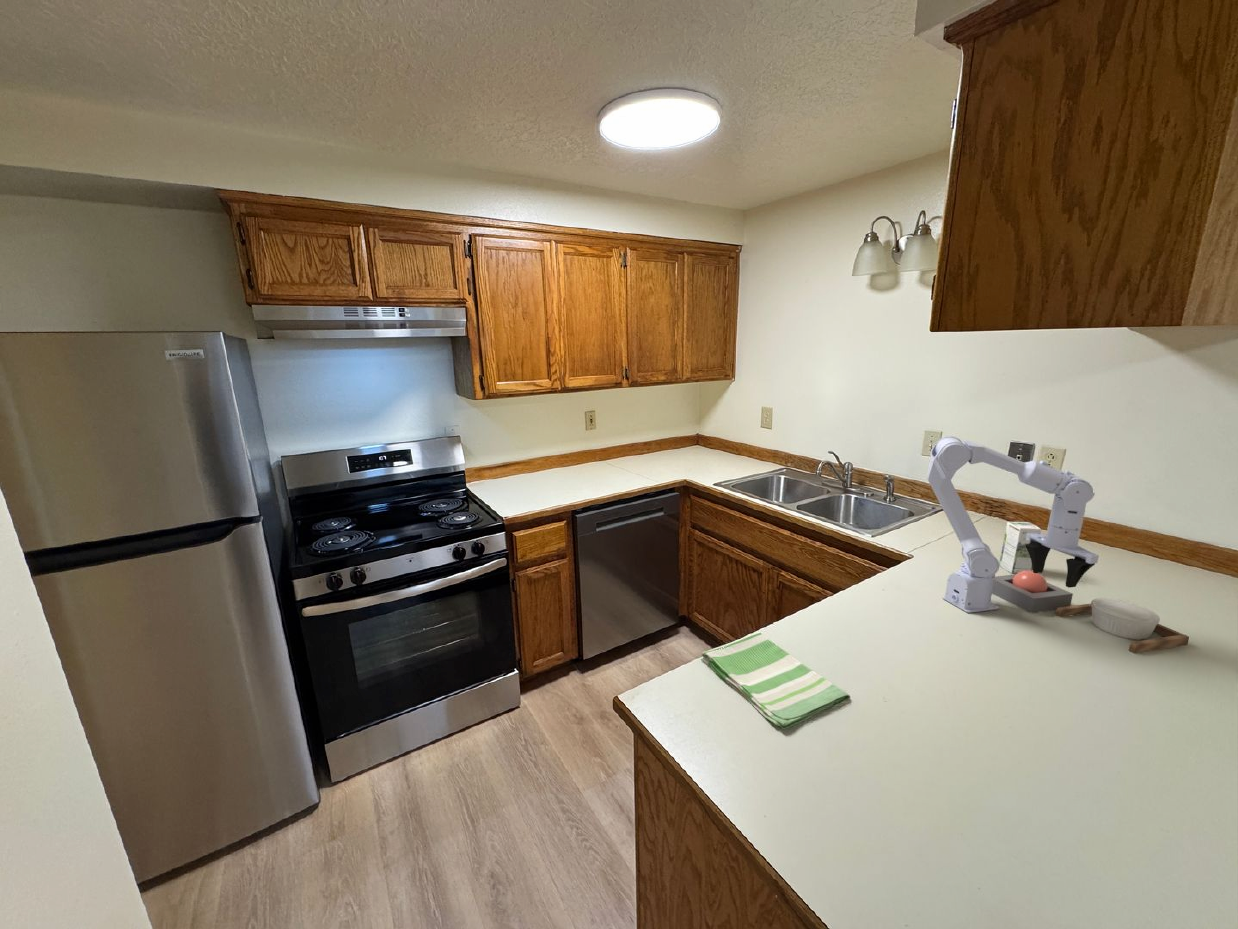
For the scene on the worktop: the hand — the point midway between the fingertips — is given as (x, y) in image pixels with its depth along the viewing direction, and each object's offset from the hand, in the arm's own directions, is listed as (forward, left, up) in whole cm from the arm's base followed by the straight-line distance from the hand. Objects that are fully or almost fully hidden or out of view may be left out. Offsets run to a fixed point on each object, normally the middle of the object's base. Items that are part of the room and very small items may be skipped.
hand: (1053, 579), depth 117 cm
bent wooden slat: (+10, -8, -10) cm, 16 cm away
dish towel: (-78, -8, -11) cm, 79 cm away
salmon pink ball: (+4, +8, -9) cm, 13 cm away
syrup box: (+18, +23, -10) cm, 31 cm away
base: (+4, +8, -10) cm, 13 cm away
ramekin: (+11, -8, -10) cm, 17 cm away
